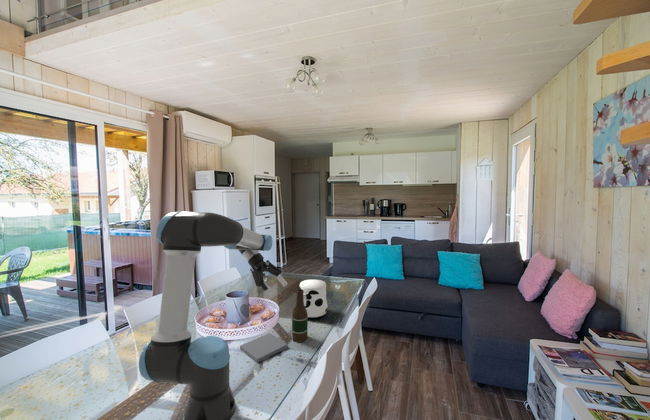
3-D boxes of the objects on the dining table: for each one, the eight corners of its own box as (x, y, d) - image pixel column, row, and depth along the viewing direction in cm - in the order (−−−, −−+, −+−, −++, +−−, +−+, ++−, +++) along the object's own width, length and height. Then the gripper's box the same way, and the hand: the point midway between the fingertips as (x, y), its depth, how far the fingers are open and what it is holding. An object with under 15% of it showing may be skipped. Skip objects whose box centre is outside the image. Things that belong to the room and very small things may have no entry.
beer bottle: (305, 343, 130) (305, 293, 128) (289, 341, 132) (289, 292, 130) (309, 335, 138) (310, 287, 136) (294, 333, 139) (294, 286, 138)
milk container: (328, 308, 169) (329, 279, 168) (325, 321, 152) (326, 289, 151) (300, 306, 171) (300, 278, 170) (294, 319, 154) (295, 288, 153)
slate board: (257, 362, 115) (257, 359, 115) (239, 349, 125) (239, 345, 125) (287, 347, 127) (287, 344, 127) (269, 336, 137) (269, 332, 136)
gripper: (262, 256, 155) (286, 286, 150) (232, 267, 131) (260, 304, 127) (271, 247, 152) (295, 278, 148) (242, 258, 129) (270, 294, 125)
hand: (279, 290), depth 138 cm, fingers open, 13 cm apart
